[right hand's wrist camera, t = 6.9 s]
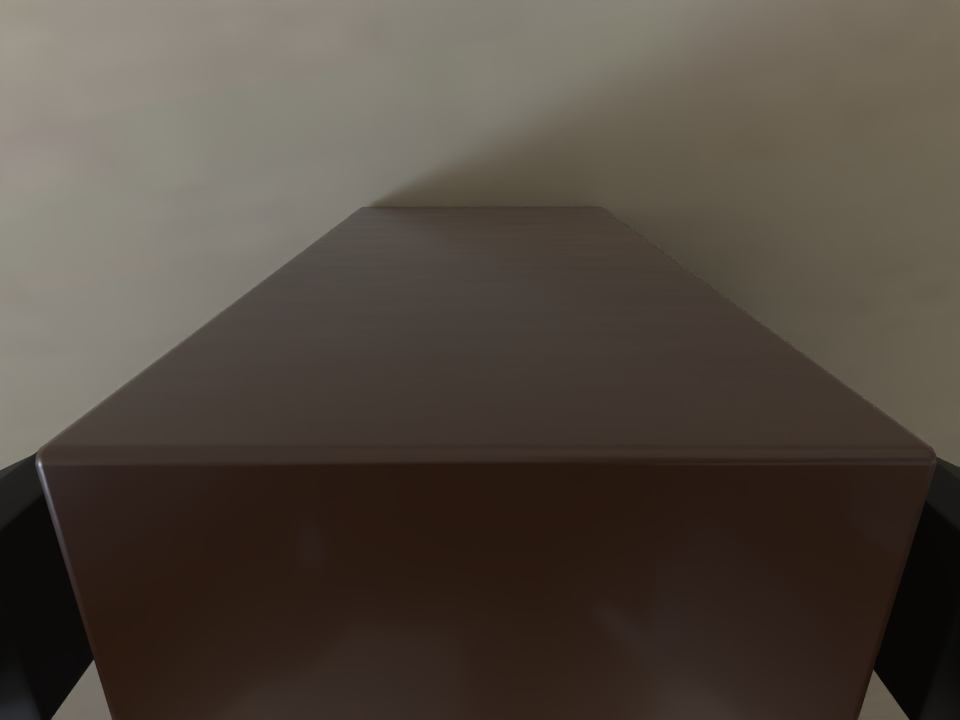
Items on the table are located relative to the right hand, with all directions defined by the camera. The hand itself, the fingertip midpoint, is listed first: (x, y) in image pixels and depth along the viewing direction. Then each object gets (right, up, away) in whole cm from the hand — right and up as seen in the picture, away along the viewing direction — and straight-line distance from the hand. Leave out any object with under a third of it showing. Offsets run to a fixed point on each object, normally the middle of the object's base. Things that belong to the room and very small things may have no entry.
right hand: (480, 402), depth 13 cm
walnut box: (0, -12, +6) cm, 13 cm away
